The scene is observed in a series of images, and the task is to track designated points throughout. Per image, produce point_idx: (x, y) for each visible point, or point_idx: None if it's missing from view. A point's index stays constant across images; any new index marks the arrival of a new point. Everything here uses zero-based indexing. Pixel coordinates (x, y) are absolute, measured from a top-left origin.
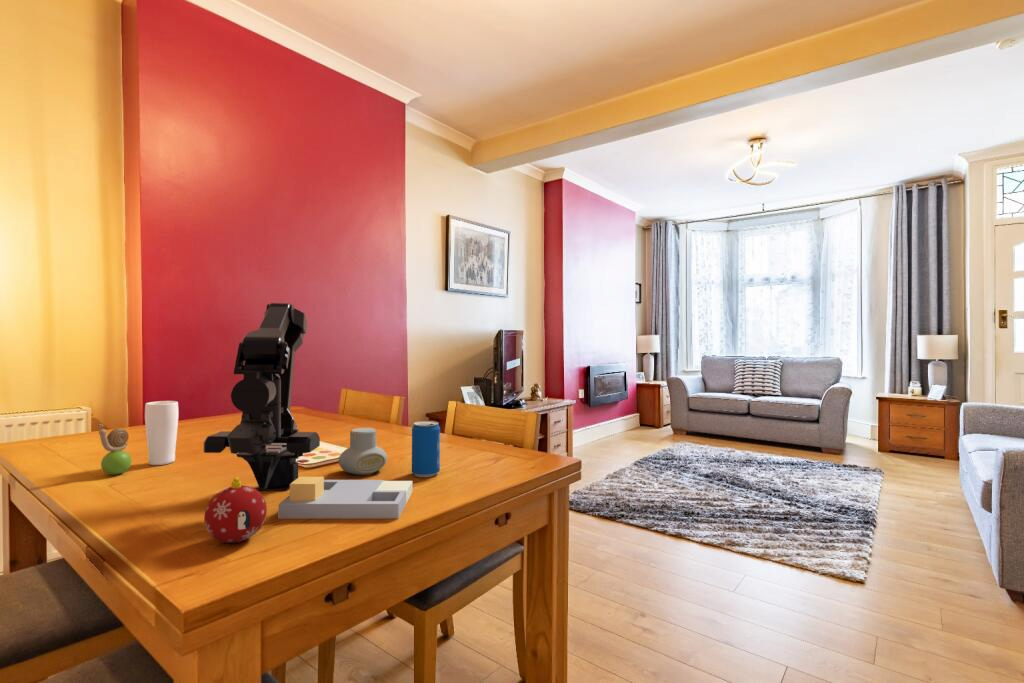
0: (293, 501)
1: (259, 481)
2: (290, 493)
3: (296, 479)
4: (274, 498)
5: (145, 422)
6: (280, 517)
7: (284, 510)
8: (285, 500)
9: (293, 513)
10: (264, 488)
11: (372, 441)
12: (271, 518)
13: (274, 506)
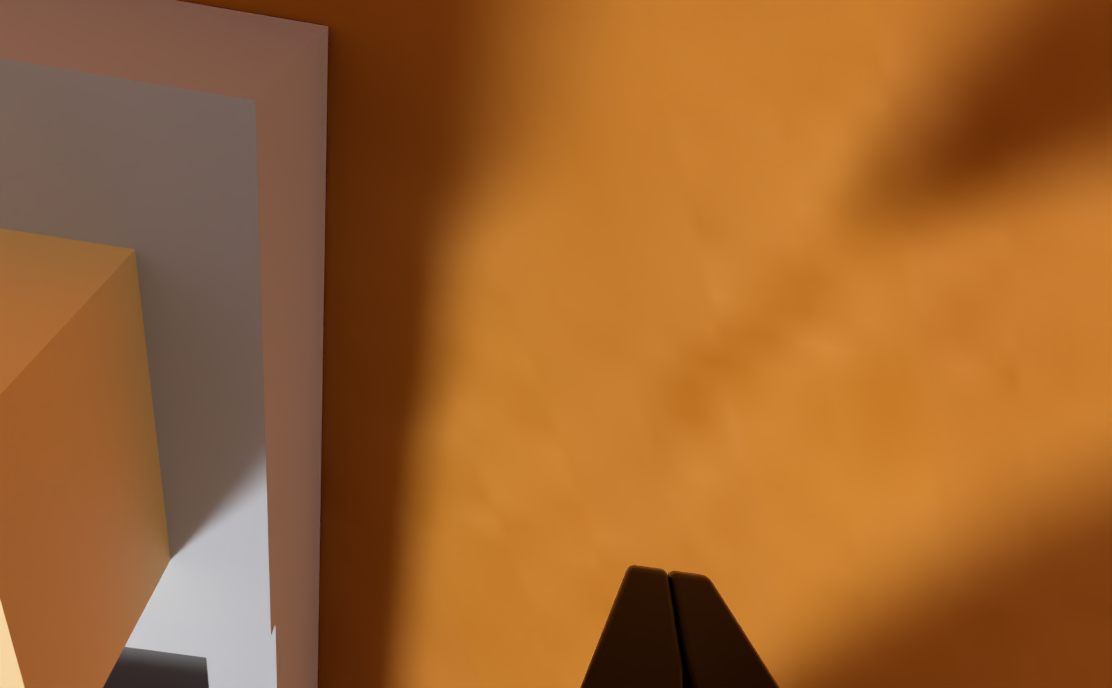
0: (43, 193)
1: (724, 680)
2: (58, 313)
3: (9, 672)
4: None
5: None
6: (292, 25)
7: (188, 45)
8: (211, 261)
9: (59, 9)
10: (627, 571)
11: None
12: (440, 59)
13: (543, 471)
